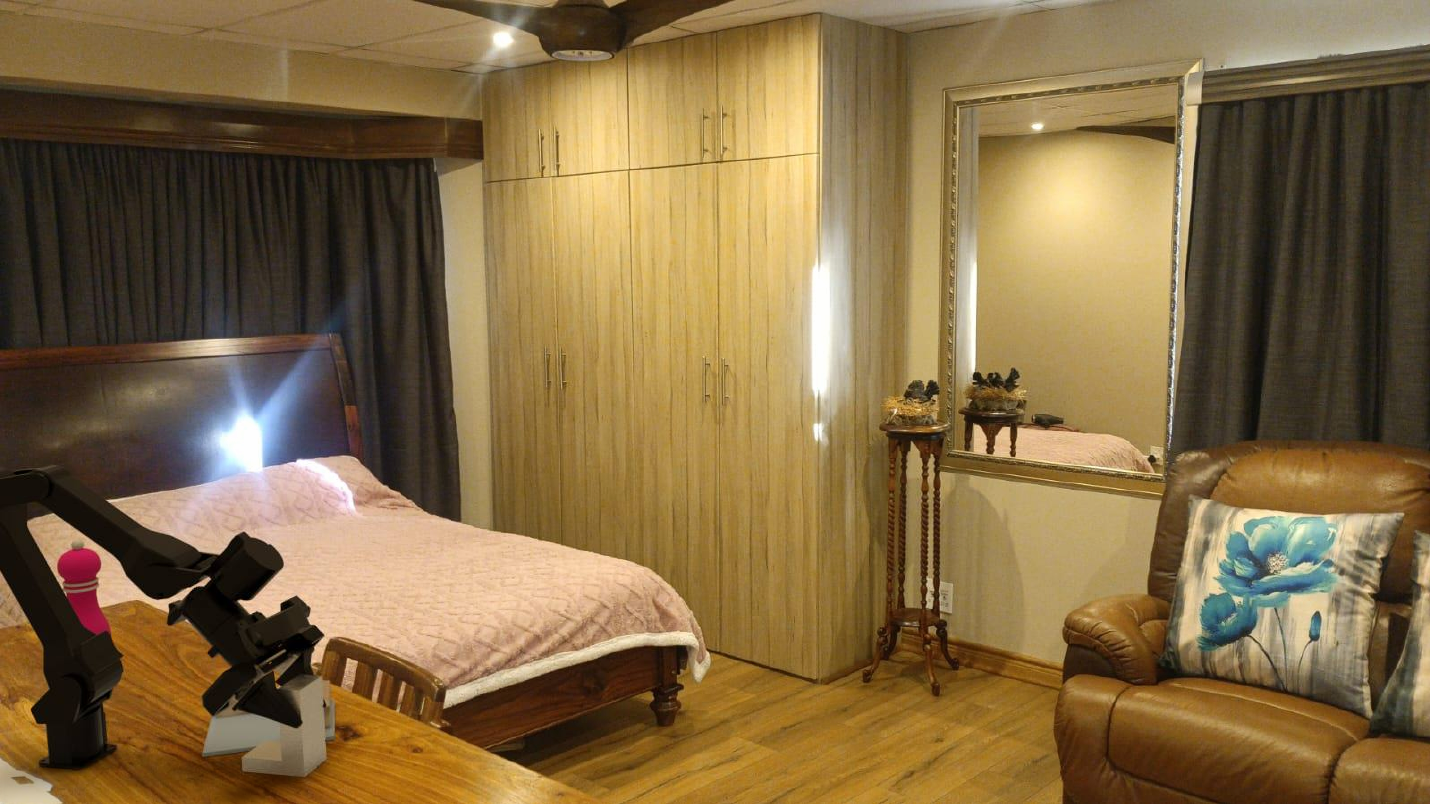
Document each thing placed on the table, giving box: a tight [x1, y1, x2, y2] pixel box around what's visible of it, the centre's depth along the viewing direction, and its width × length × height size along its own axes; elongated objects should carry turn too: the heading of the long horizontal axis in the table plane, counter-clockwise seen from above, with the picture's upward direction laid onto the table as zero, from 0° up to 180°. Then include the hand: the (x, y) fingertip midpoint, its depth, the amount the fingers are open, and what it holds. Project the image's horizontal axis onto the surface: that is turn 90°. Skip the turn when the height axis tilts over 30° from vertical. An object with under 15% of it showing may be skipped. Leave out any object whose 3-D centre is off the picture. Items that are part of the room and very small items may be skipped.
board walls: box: [215, 680, 332, 728], centre depth 158 cm, size 15×10×4 cm, turn 108°
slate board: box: [201, 699, 336, 758], centre depth 156 cm, size 16×13×1 cm
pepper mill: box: [56, 538, 112, 636], centre depth 181 cm, size 7×7×20 cm
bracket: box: [241, 674, 328, 778], centre depth 145 cm, size 8×5×11 cm, turn 78°
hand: (312, 717), depth 144 cm, fingers closed on bracket, 5 cm apart
